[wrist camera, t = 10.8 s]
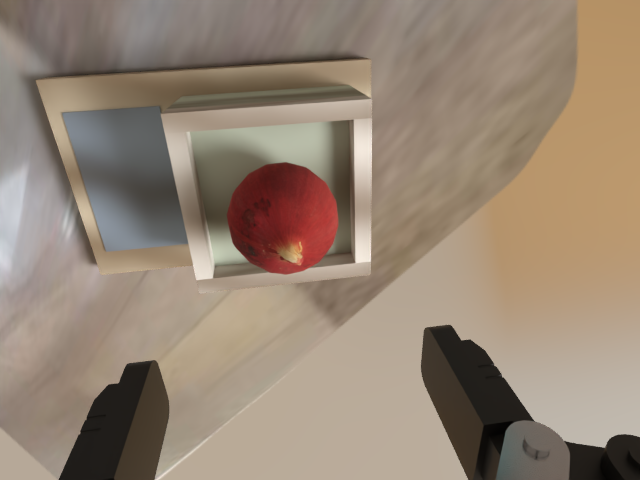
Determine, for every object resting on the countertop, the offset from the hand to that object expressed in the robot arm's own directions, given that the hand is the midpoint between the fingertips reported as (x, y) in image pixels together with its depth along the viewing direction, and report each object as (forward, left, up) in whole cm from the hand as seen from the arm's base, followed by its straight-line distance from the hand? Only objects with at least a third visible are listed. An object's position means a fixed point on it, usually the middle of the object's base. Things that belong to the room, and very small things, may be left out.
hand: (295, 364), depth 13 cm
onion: (0, 0, -15) cm, 15 cm away
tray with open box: (0, -3, -21) cm, 21 cm away
